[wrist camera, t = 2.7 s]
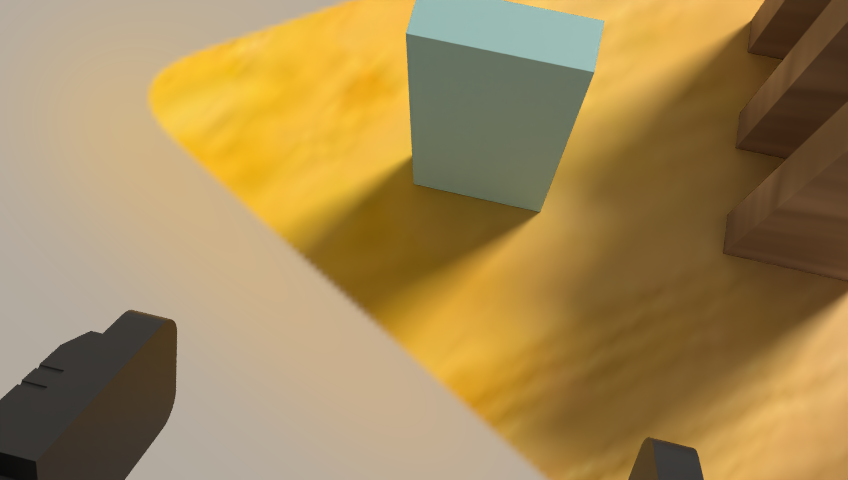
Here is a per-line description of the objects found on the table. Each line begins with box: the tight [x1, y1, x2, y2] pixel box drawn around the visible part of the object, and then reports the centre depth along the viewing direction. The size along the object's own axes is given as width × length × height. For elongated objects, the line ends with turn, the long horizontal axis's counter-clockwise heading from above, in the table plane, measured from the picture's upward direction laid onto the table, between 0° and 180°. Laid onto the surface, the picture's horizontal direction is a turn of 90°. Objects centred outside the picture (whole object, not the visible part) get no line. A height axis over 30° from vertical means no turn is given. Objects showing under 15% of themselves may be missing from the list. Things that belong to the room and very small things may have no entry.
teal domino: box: [406, 0, 604, 212], centre depth 24 cm, size 2×5×10 cm, turn 76°
